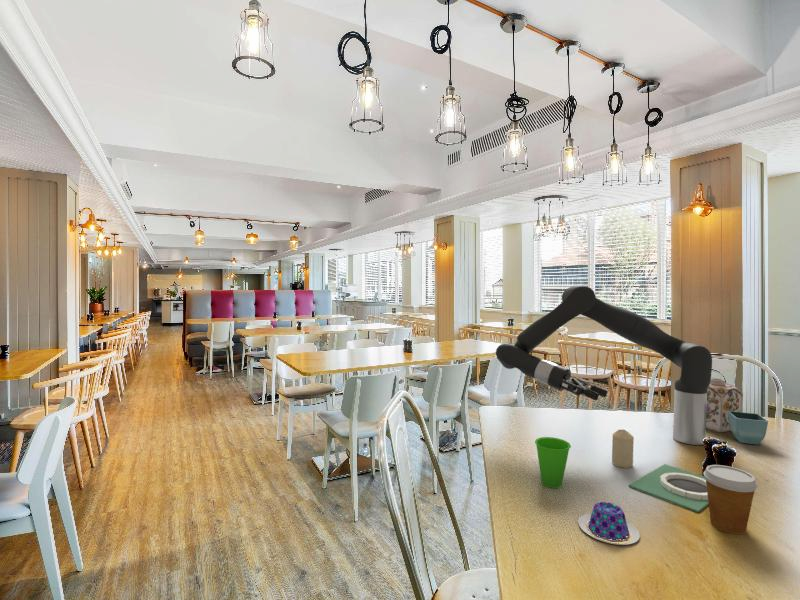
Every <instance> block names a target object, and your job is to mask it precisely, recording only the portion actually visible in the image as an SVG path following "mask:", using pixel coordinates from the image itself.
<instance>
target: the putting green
mask: <svg viewBox="0 0 800 600" xmlns="http://www.w3.org/2000/svg"><path fill="white" fill-rule="evenodd" d="M628 488H632V489H633V490H637V491H639V492H642V493H644V494H647V495H649V496H652V497H655V498H658V499H661V500H662V501H666V502H669V503H671V504H673V505H677V506H679V507H681V508H684V509H686V510H689V511H692V512H695V513H698V514H699V513H700V512H701V511H703V510H704V509H705V508H706V507H707V506H708V507H709V503H708V494H707V485H706V479H705V476H704V475H700V474H697V473H694V472H691V471H687V470H685V469H682V468H678V467H675V466H671V465H669V464H666V463H664V464H663V465H661V466H659V467H656V468H654V470H652V471H650V472H648V473H646V474H645V475H643V476H642V477H640V478H638V479H636V480H634V481H633V482H631V483H630V484H628Z"/></svg>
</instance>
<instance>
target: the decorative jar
mask: <svg viewBox="0 0 800 600" xmlns="http://www.w3.org/2000/svg"><path fill="white" fill-rule="evenodd" d="M743 398H744V394H743V393H742V392H741V390H740V389H739V388H738V387H736V385H733V384H729V383H726V380H725V378H724V379H723V378H717V377H711V382H710V385H709V387H708V389H707V411H706V430H707V429H708V430H711V431H714V432H717V433H727V432H732V431H731V428H730V424H729V416H728V411H733V412H743V408H744V407H743V402H744V401H743V400H744V399H743Z"/></svg>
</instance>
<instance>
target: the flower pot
mask: <svg viewBox="0 0 800 600" xmlns="http://www.w3.org/2000/svg"><path fill="white" fill-rule="evenodd" d="M728 416H729V424H730V428H731V431H730V432H731V433H732V435H733V436H734V438H735V439H736V440H737V441H738V443H740V444H748V445H749V444H750V445H754V446H755V445H760V443H762V442H763V441H764V439H765V437H766V434H767V430H768V425H769V420H767V419H766V418H764V417H763V416H762V415H760V414H759V413H755V412H754V413H752V412H745V411H744V412H743V411H742V412H733V411H728Z"/></svg>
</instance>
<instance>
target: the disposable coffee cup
mask: <svg viewBox="0 0 800 600" xmlns="http://www.w3.org/2000/svg"><path fill="white" fill-rule="evenodd" d="M703 476H704V477H705V479H706V485H707V494H708V503H709V505H708V510H709V521H710V524H711V525H712V526H713V527H715V528H716V529H718V530H720V531H723V532H725V533H728V534H733V535H744V534H746V533H747V529H748V523H749V519H750V518H749V517H750V514H751V510H752V505H753V499H754V494H755V491H756V490H757V488H758V487H759V486H758V485H759V484H758V483H757V481H756V477H755V476H754V475H753V474H751V473H749V472H748V471H746V470H744V469H739V468H736V467H733V466H730V465H729V466H728V465H721V464H711V465H707V466H706V468H705V470H704V471H703Z"/></svg>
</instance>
